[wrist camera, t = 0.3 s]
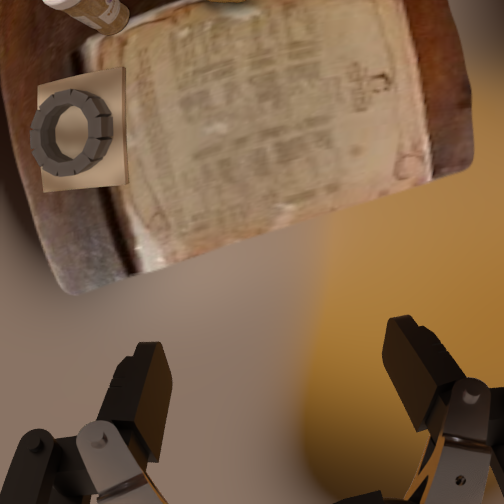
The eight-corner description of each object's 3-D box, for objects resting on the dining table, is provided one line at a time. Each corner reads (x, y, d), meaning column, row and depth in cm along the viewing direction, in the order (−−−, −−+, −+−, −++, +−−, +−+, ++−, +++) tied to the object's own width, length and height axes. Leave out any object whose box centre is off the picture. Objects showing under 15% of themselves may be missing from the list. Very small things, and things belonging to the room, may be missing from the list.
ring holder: (42, 86, 30) (22, 84, 26) (125, 68, 30) (111, 61, 26) (48, 190, 35) (29, 199, 31) (128, 183, 36) (115, 191, 31)
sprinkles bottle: (136, 22, 28) (90, -18, 16) (103, 42, 29) (46, 14, 16) (122, -3, 27) (76, -47, 14) (91, 17, 27) (34, -16, 15)
